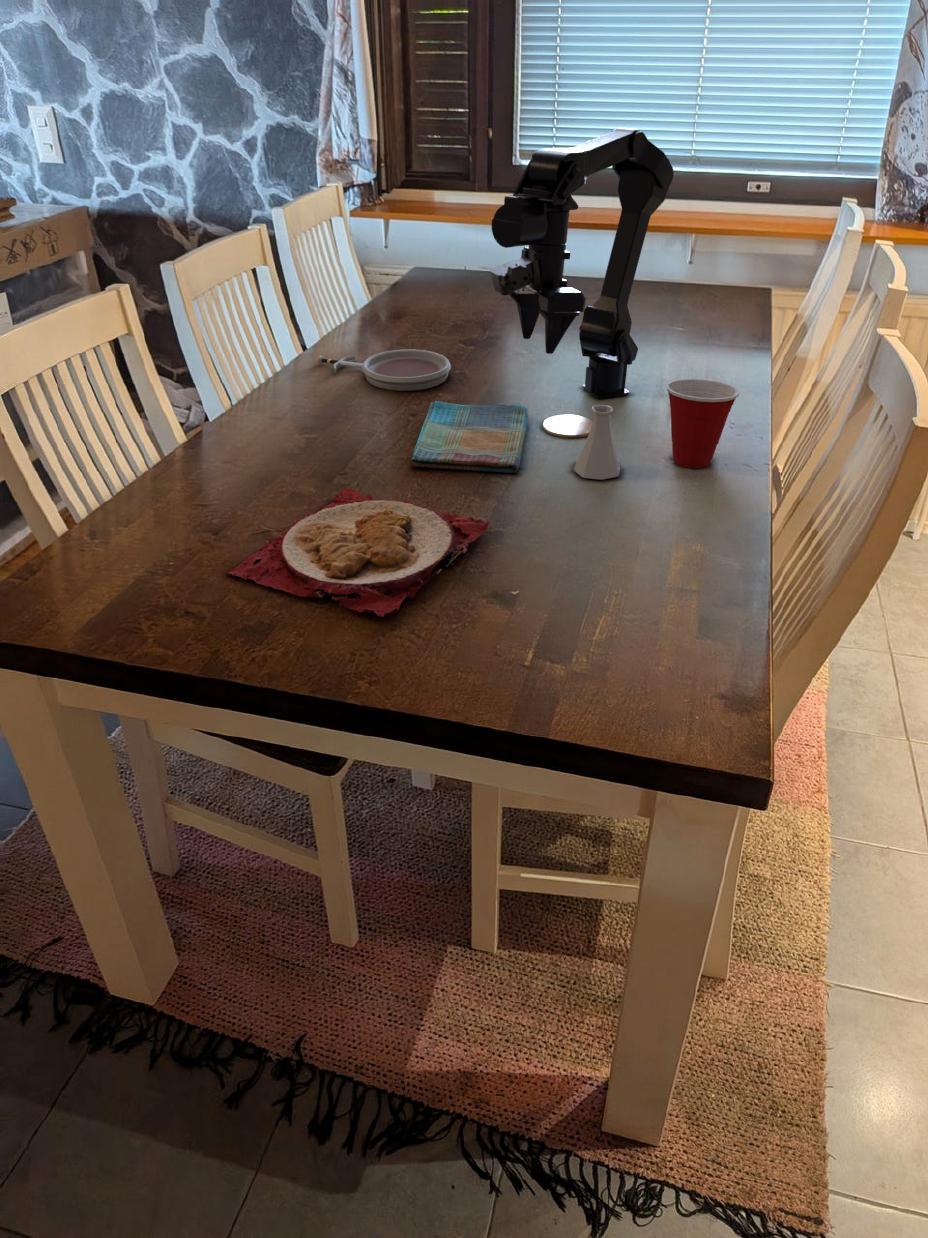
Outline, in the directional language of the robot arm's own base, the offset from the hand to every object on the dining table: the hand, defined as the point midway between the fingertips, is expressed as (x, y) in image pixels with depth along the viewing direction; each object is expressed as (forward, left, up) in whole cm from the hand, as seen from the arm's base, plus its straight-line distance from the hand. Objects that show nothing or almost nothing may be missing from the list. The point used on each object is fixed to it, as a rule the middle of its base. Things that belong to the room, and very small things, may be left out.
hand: (537, 345), depth 147 cm
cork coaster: (-5, +3, -13) cm, 15 cm away
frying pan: (+17, -34, -14) cm, 40 cm away
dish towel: (+12, +3, -14) cm, 19 cm away
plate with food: (+38, +32, -14) cm, 52 cm away
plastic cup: (-17, +22, -14) cm, 31 cm away
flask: (-2, +20, -14) cm, 24 cm away
